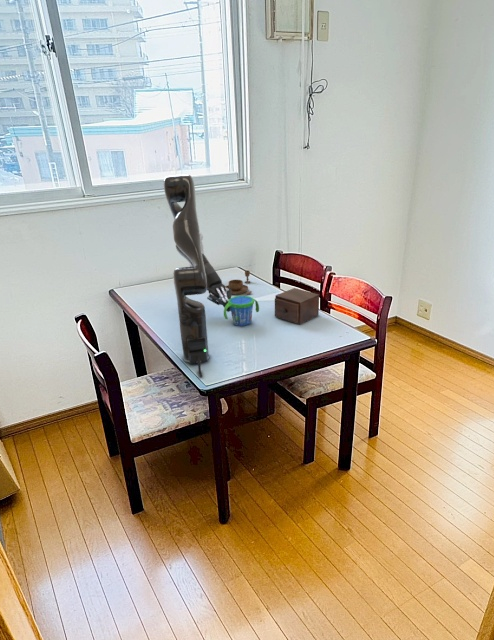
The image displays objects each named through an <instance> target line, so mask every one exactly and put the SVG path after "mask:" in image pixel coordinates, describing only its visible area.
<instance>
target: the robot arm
mask: <svg viewBox="0 0 494 640" xmlns="http://www.w3.org/2000/svg"><path fill="white" fill-rule="evenodd" d="M194 181H195V180H194V179H193V177H192V175H190V174H187V173H185V174H176V175H175V174H174V175H167V176H165V177H164V179H163V190H164V195H165V199H166V201H167V204H168V207H169V209H170V212H171V214H172V217H173V223H172V234H173V242H174V243H175V249H176V251H177V252H178V254H179V255H180V256H181V257H182V258H184V259H185V260H186V261H187V262H188V264H189V263H190V264H191V265H192V267H189V266H181V267H176V268H174V270H173V273H172V274H173V275H172V276H173V277H172V278H173V279H172V280H173V285H174V291H175V295H176V297H175V298H176V303H177V314H178V322H179V333H180V340H181V347H182V358H183V361H184V362H185V363H188V364H189V365H195V364H197V365H198V367H197V369H198V374H199V377H200V378H202V377H203V374H202V370H201V369H202V367H201V363H207V362H208V361H209V359H210V353H209V351H210V350H209V340H208V331H207V330H208V329H207V319H206V318H207V317H206V308H205V305H204V304H203V303H202V302H200V301H197V300H194V299H191V298H189V297H188V296H196V295H203V294H205V293H206V292H207V291H208V296H207V298H206V299H207V300H209V301H210V302H212V303H213V304H216V305H217V306H223V308H225V306H226V304H227V303H228V301H229V299H230V298H232V294H231V288H230V287H229V288H226V287H225V286H226V285H225V284H224V283H223V282H222V279H221V277H220V275H219V274H218V272H217V271H216V269H215V268H214V267H213V265H212V264H211V263H210V261H209V259H208V258H207V256H206V255H205V253H204V254H203V253H202V251H201V240H200V232H201V231H200V225H199V219H198V214H197V213H198V212H197V201H196V187H195V182H194ZM179 203H184V205H183V206H181V205H180V204H179ZM226 313H231V309H230V306H229V307H228V309H227V311H226Z"/></svg>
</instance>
